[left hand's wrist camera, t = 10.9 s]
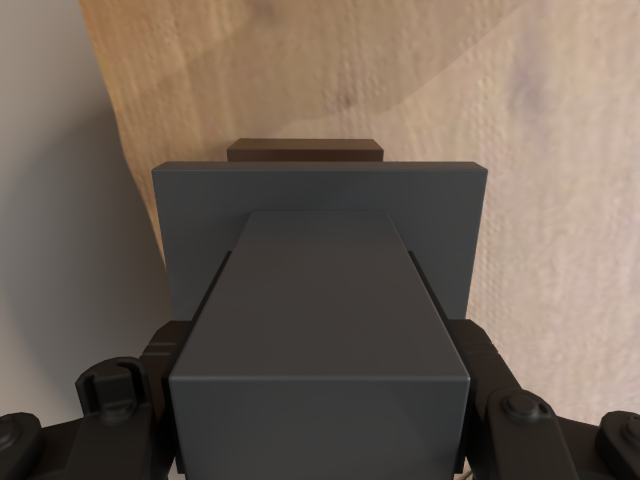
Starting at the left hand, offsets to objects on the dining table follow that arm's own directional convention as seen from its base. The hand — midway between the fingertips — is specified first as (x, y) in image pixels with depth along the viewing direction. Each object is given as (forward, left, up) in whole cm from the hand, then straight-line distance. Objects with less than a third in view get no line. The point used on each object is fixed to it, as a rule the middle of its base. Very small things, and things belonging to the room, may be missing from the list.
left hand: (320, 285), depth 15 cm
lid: (+3, 0, -5) cm, 6 cm away
